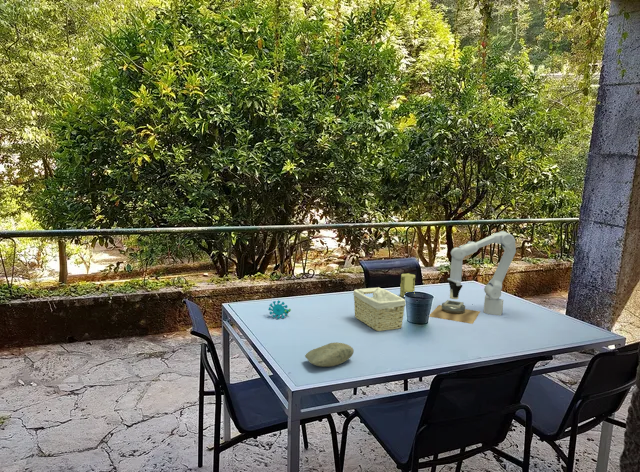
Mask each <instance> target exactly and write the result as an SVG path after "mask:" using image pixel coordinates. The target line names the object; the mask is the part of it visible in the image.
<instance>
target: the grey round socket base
mask: <svg viewBox="0 0 640 472" xmlns="http://www.w3.org/2000/svg"><path fill="white" fill-rule="evenodd" d="M441 305H442V309H441V310H442V311H443V312H446V313H450V314H463V313H465V309H466V305H464V302H463V301H456V300H452V299H451V300H449V299H447V300H446V301H445V302H442V303H441Z"/></svg>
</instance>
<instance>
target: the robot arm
mask: <svg viewBox="0 0 640 472" xmlns="http://www.w3.org/2000/svg"><path fill="white" fill-rule="evenodd" d="M491 244H499V245H501V247H502V250H503V254H502V255H501V256H502V257H501V258H500V261H499V262H498V265H497V266H496V269H495V272H494V273H493V276H492V278H491V279H490V280H489V281H488V282H487V284H486V285H485V286H484V289H483V290H484V291H483V292H484V293H485V295H484V302H483V313H484V314H486V315H492V316H499V317H500V316H502V315H503V312H504V311H503V309H504V299H501V296H502V289H503V282H504V280H505V277H506V275H507V272H508V270H509V268H510V266H511V264H512V262H513V260H514V257H515V254H516V252H517V249H516V239H515V237H514V235H512V234H511V233H508V232H507V231H505V230H500V231H499V232H495V233H493V234H491V235H489V236H487V237H484V238H483V239H480V240H478V241H470V240H469V241H467V243H466V244H465V243H464V244H461V245H459V246H458V247H453V248H452V249H451V251H450V255H451V262H450V274H449V275H450V276H449V277H448V278H447V281H448V285H449V290H450V289H452V290H453V297H454V298H457V297H458V295H459V294H460V291H461V290H462V288H463V284H462V281H463V279H462V276H463V275H462V274H463V264H464V263H463V260H464V258H465V257H467V256H469V255H472V254H474V253H477V252H478V250H479V249H481V248H482V247H486V246H488V245H489V246H490V245H491ZM458 298H459V297H458Z"/></svg>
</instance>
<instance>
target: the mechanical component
mask: <svg viewBox="0 0 640 472" xmlns="http://www.w3.org/2000/svg"><path fill="white" fill-rule="evenodd" d="M415 281H416V274H413V273H409V272H408V273H402V274H400V284H399V285H400V286H399V287H400V289H399V297H401V298H405V297H404V295H405V293H406V292H413V291H415V285H416V282H415Z"/></svg>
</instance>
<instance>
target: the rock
mask: <svg viewBox="0 0 640 472" xmlns="http://www.w3.org/2000/svg"><path fill="white" fill-rule="evenodd" d="M353 355H354V348H353V347H352V346H351V345H350V344H347V343H344V342H330V343H327V344H324V345H321V346H319V347H317V348H313V349H311V350H309V351H308V352H306V353H305V354H304V357H305V358H306V359H307V361H308V362H309V363H310V364H312V365H314V366H316V367H323V368H324V367H325V368H327V367H328V368H329V367H335V366H339V365H341V364H343V363H346V362H347V361H348V360H349V359H351V358H352V357H353Z"/></svg>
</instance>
